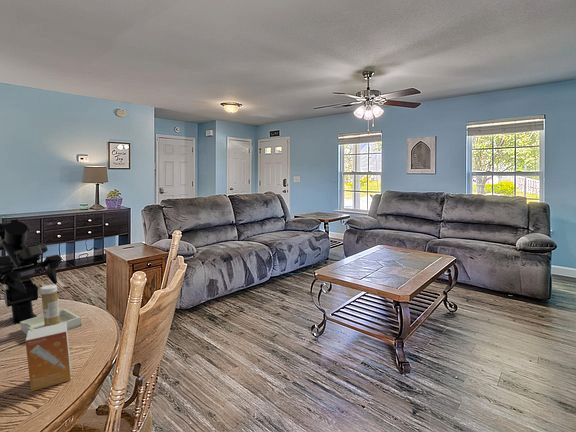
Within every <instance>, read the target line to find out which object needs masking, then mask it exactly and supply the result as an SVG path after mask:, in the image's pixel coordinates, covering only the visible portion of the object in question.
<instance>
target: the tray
mask: <svg viewBox="0 0 576 432" xmlns="http://www.w3.org/2000/svg"><path fill="white" fill-rule="evenodd" d="M59 317H60V322H61V323H65V322H66V323H67V332H68V331H70V330H73V329H76V328H79V327H82V316H79V315H77V314H76V313H74V312H72V311H70V310H69V309H67V308H62V309H59ZM61 323H59V324H61ZM44 324H45V323H44V316H43V314H42V315H37V317H34V318H31V319H28V320H24V321H21V322H20V330H21V332H22V333H24V334H25V335H27V333H28V330H33V329H38V328H42V327H45V326H44ZM56 325H57V324H56Z"/></svg>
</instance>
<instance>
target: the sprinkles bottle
mask: <svg viewBox="0 0 576 432" xmlns="http://www.w3.org/2000/svg"><path fill="white" fill-rule="evenodd" d="M39 293H40V295H41V302H42V305H41V307H42V313H43V314H42V315H43V316H44V323H45V324H44V326H45V327H46V326H51V325H56V324H59V323H61V322H60V317H59V310H60V304H59V299H58V285H57V284H46V285H43V286H41V287H40V288H39Z"/></svg>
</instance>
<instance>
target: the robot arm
mask: <svg viewBox="0 0 576 432" xmlns="http://www.w3.org/2000/svg"><path fill="white" fill-rule="evenodd" d="M29 228H30V227H28V225H27V224H26V223H24V222H22V221H19V219H18V218H16V219H10V221H9V222H2V223H0V251H4V250H5V252H6V254H7V255H6V254H5V255H2V256H0V285H2V286H3V285H5V287H6V289H4V293H3V294H4V297H3V298H4V304H5V305H6V308H10V307H11V308H10V309H11V314H12V316H11V317H9V320H10V321H11V322H12V323H14V324H15V325H16V324H19V323H20V322H21V321H24V320H28V319H31V318H34V317H38V315H36V314H35V313H34V310H33V309H34V308H33V302H34V301H38V299H39V287H38V286H37V284H36V283H34V282H33V280H32V279H31V277H30V276H29V275H26V276H25V275H24V276H23V275H22V273H25V272H30V271H34V270H39V269H43V271H45V272H44V274H45V275H46V276H47V277H48V279H50V281H51V282H52V283H53V285H57V284H58V279H57V278H58V277H57V269H58V268H59V266H60V264H61V262H62V260H63V259H62V257H61V256H60V255H59V254H53V255H47V256H46V257H45V259H44V261H40V262H38V261H39V260H40V259H41V255H44V254H45V253H46V252H48V247H47V244H45V243H44V242H41V243H37V244H36V245H33V246H32V245H31V246H28V245H27V244H26V241H27V238H28V237H27V236H28V232H29Z"/></svg>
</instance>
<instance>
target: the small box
mask: <svg viewBox="0 0 576 432" xmlns="http://www.w3.org/2000/svg"><path fill="white" fill-rule="evenodd" d="M68 333H69V332H68V331H67V323H66V322H65V323H61V324H57V325H51V326H46V327H42V328H38V329H33V330H28V333H27V334H26V338H25V349H26V358H27V367H28V368H27V369H28V375H29V384H30V392H34V391H38V390H42V389H46V388H48V387H52V386H54V385H58V384H62V383H67V382H71V381H72V365H71V355H70V344H69V334H68Z"/></svg>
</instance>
